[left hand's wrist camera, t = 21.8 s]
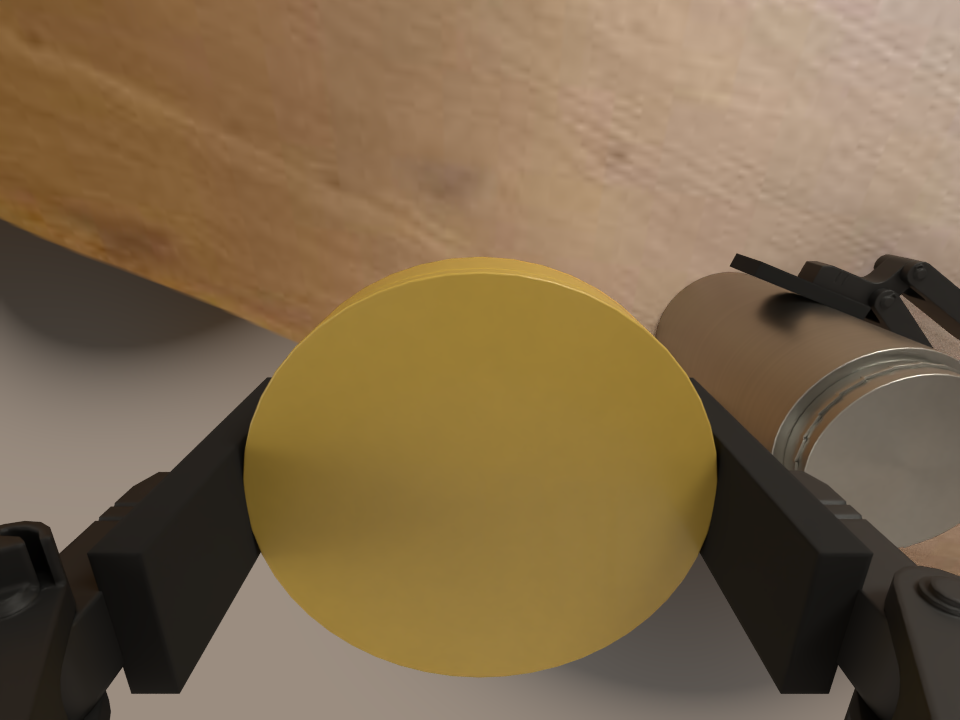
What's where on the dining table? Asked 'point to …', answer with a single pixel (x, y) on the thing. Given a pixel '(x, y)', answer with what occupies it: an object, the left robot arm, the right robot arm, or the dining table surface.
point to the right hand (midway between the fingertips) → (699, 344)
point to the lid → (480, 469)
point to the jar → (829, 397)
